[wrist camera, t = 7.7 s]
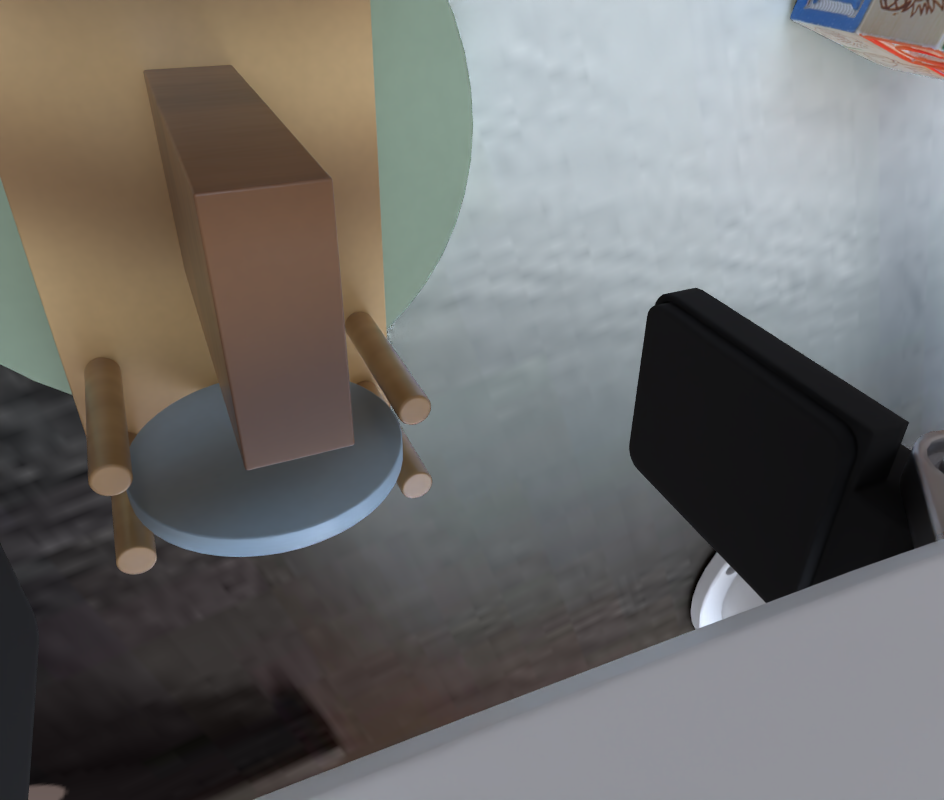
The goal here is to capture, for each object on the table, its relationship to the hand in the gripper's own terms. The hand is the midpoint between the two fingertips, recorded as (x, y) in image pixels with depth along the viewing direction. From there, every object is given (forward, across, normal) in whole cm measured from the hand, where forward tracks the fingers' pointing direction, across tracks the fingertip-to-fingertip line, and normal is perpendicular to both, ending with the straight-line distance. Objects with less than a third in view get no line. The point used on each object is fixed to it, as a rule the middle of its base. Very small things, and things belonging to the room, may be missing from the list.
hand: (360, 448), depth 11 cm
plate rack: (+13, +1, -1) cm, 13 cm away
